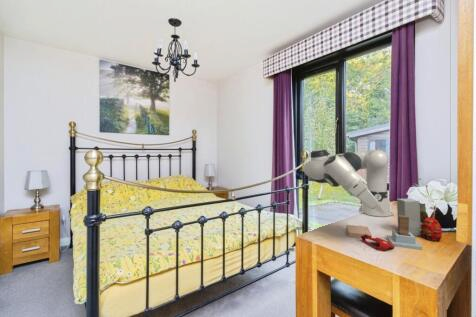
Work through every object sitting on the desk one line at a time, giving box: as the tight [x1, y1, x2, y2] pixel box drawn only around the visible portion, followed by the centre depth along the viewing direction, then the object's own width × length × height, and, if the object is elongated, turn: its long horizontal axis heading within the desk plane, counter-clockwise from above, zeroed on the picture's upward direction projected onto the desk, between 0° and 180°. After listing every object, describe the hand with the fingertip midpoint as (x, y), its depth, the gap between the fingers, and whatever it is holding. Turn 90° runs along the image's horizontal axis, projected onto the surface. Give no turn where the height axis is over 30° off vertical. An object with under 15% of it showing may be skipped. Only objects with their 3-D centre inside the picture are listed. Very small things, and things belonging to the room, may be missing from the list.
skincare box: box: [396, 198, 422, 237], centre depth 113 cm, size 8×7×16 cm
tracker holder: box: [360, 234, 395, 252], centre depth 97 cm, size 12×4×10 cm
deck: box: [346, 224, 373, 240], centre depth 111 cm, size 12×9×2 cm
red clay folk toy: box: [420, 204, 443, 242], centre depth 105 cm, size 8×7×15 cm
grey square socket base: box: [386, 229, 423, 251], centre depth 100 cm, size 10×10×4 cm
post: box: [397, 215, 409, 236], centre depth 100 cm, size 3×3×10 cm
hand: (380, 210), depth 102 cm, fingers open, 8 cm apart
